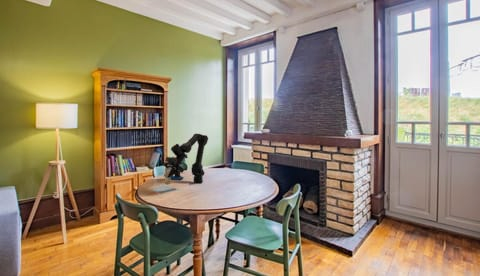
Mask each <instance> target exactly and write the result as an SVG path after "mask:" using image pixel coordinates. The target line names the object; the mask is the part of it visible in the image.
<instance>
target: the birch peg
mask: <svg viewBox="0 0 480 276" xmlns="http://www.w3.org/2000/svg"><path fill="white" fill-rule="evenodd" d="M164 168H165V169H164V175H165V177H164V181H165V184H164V185H167V186H170V185H171V183H172V182H171V181H172V180H171V177H169V178H168V177H167V176H168V175H169V173H170V168H166V167H164Z"/></svg>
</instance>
